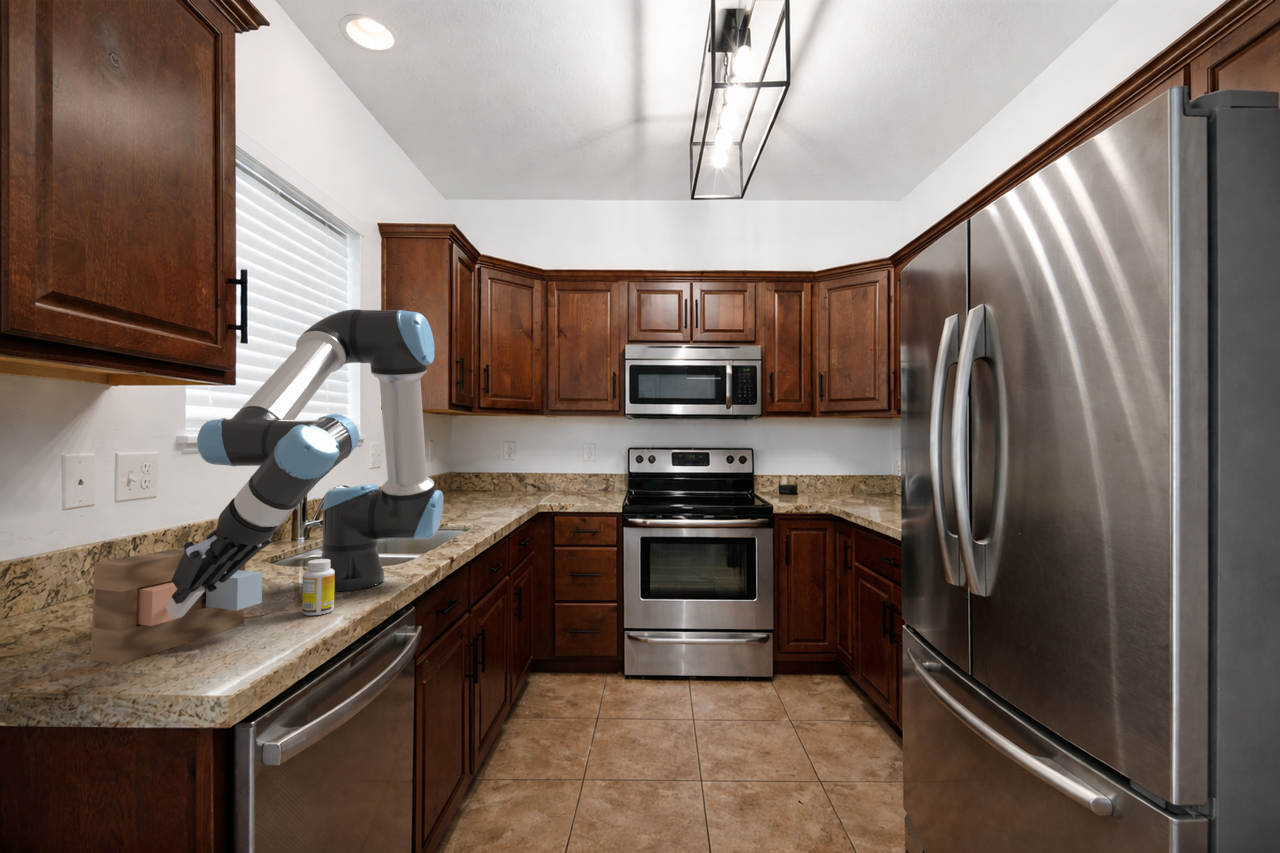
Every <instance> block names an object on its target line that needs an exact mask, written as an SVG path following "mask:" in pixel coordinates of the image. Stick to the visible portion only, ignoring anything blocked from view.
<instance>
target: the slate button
mask: <svg viewBox="0 0 1280 853" xmlns="http://www.w3.org/2000/svg"><path fill="white" fill-rule="evenodd" d="M225 573H226V572H225ZM263 573H264V572H262V571H252V570H245V571H243V570H238V571H237V572H235V573H234V574H233V575H232V576H231V577H230V578H229V579H228V580H226V581H225V582H223V583H220V582H219V581H218V582H217V583H216V584H215V586H216V588H217V589H216V590H214V591H212V592H209V591H208V589H207V590H206V607H213V608H222V609H230V610H240V609H243V608H244V609H246V608H250V607H253V606H257V605H259V604H262V603H263Z"/></svg>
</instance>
